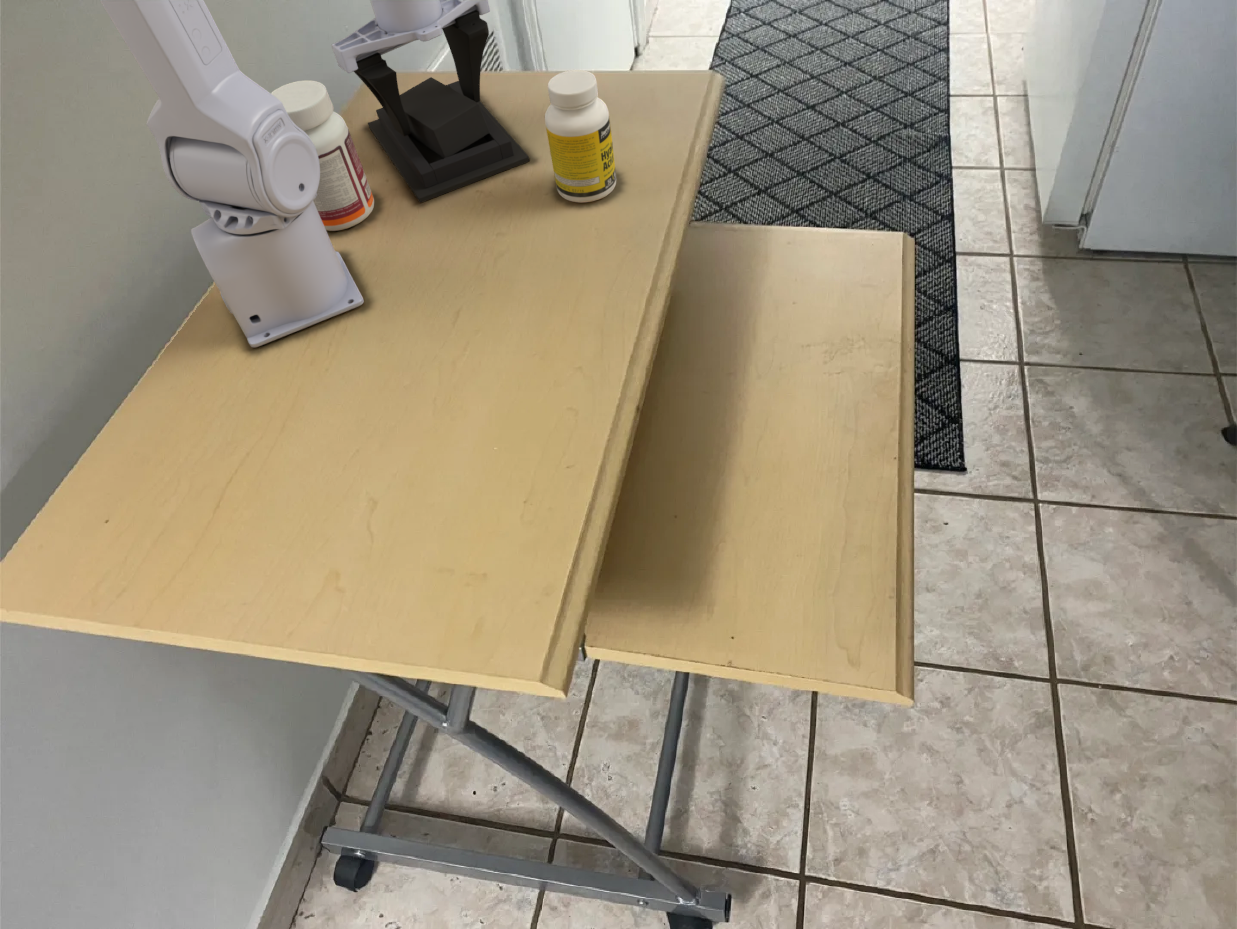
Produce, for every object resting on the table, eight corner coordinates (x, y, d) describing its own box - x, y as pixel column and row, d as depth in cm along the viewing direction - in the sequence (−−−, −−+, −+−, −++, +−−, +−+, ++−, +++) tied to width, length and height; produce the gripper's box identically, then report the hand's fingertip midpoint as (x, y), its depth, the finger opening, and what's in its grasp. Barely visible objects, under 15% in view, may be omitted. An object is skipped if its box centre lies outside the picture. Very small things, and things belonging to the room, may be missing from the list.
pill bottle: (337, 187, 85) (290, 71, 76) (389, 199, 83) (347, 81, 74) (295, 226, 82) (241, 109, 73) (348, 239, 80) (299, 120, 71)
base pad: (530, 161, 84) (526, 141, 83) (420, 203, 82) (413, 184, 80) (468, 91, 94) (464, 72, 92) (368, 127, 92) (362, 108, 90)
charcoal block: (490, 132, 84) (478, 103, 82) (445, 159, 83) (432, 130, 81) (443, 104, 91) (431, 76, 89) (401, 129, 90) (387, 101, 87)
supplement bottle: (617, 202, 79) (603, 95, 71) (555, 207, 79) (535, 102, 72) (618, 166, 82) (605, 61, 75) (559, 172, 83) (540, 68, 75)
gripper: (337, 8, 71) (390, 163, 81) (492, -55, 75) (524, 98, 86) (300, -17, 75) (356, 133, 85) (450, -76, 79) (485, 74, 90)
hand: (437, 114), depth 86 cm, fingers open, 7 cm apart
